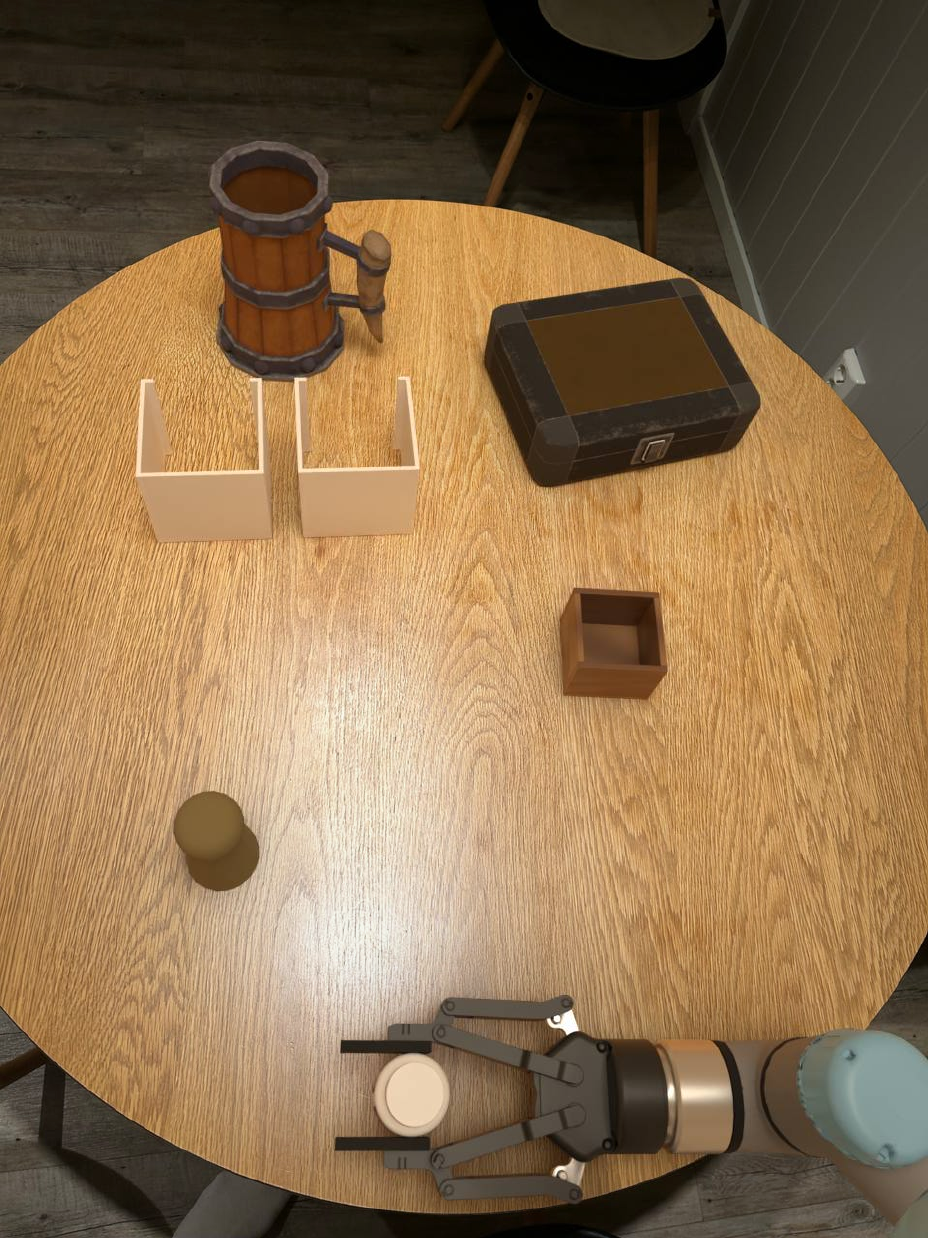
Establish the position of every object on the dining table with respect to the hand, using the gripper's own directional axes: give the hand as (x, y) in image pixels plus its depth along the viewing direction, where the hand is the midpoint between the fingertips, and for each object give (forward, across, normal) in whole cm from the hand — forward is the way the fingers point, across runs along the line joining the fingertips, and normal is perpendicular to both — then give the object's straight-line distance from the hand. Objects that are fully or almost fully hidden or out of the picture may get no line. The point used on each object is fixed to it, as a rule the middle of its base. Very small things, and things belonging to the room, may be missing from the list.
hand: (338, 1094), depth 66 cm
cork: (+11, +18, -6) cm, 22 cm away
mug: (+9, +76, -6) cm, 77 cm away
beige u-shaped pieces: (+9, +55, -6) cm, 56 cm away
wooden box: (-23, +38, -6) cm, 45 cm away
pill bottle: (-5, 0, -6) cm, 8 cm away
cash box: (-26, +70, -6) cm, 75 cm away
